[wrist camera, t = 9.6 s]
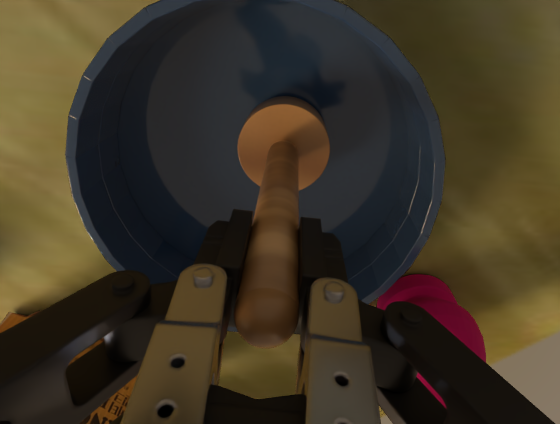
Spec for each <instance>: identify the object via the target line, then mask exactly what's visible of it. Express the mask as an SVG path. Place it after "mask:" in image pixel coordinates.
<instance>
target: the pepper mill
mask: <svg viewBox="0 0 560 424" xmlns="http://www.w3.org/2000/svg"><path fill="white" fill-rule="evenodd" d="M396 301H405V302H410V303H413V304H415V305H418V306H420V307H421V308H423V309H425V310H426V311H427V312H428V313H429V314H431V315H432V316H433V317H434V318H435V319H436V320H437V321H439V322H440V323H441V324H442V325H443V326H444V327H445V328H447V329H448V330H449V331H450V332H451V333H452V334H453V335H455V336H456V337H457V338H458V339H459V340H460V341H461V342H463V343H464V344H465V345H466V346H467V347H468V348H469V349H471V350H472V351H473V352H474V353H475V354H476V355H477V356H479V357H480V358H481V359H482V360H483V361H484V362H485V363H486V352H485V346H484V341H483V336H482V334H481V332H480V330H479V327H478V325H477V323H476V321H475V320H474V318H473V317H472V316H471V315H470V313H469V312H468V311H466V310H465V309H464V308H462V307H461V306H459V305H458V304H457V301H456V300H455V298H454V296H453V294H452V292H451V291H450V289H449V287H448V286H447V285H446V284H445V283H444V282H443V281H441V280H440V279H438V278H436V277H433V276H430V275H422V274H414V275H408V276H404V277H401V278H399V279H398V280H397V281H396V282H395V283H394V284H393V285H392V286H391V287H390V288H389V289H388V290H387V291H386V292H385V293H384V294H383V295H381V296H380V297H379V298H378V302H377V308H379V309H382V310H385V309H386V307H387V305H389V304H390V303H392V302H396ZM416 377H417V378H418V379H419V380H420V381H421V382H422V383H423V384H424V385H425V386H426V387H427V388H428V390H429V391H430V392H431V393H432V394H433V395H434V396H435V397H436V398H437V399H438V400H439V401H440V403H441V404H442V405H443V406H444V407H445V408H446V405H445V403H444V401H443V399H442V398H441V396H440V395H439V394H438V393H437V392H436V391H435V390H434V389H433V388H432V387H431V386H430V384H429V383H428V382H427V381H426V380H425V379H424V378H423V377H422V376H421V375H420V374H419V373H418V374H417V376H416ZM446 409H447V408H446Z"/></svg>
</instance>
